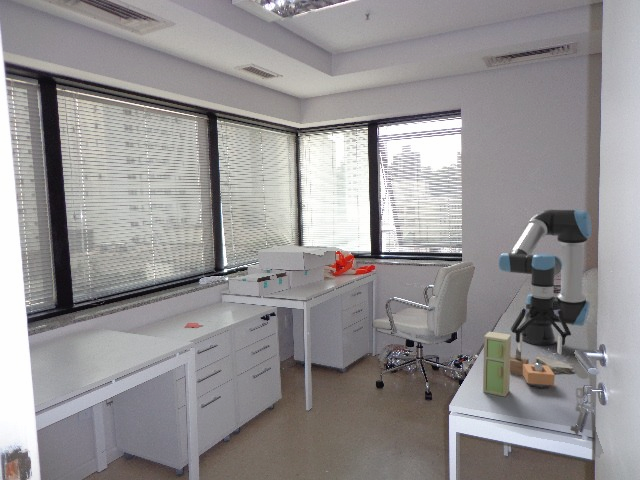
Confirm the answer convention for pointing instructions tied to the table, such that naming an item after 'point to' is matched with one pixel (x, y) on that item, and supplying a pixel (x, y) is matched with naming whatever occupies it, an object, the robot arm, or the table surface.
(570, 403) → the table surface
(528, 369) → the slotted orange block
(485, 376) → the toy refrigerator
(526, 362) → the stand
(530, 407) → the table surface
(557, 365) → the stone
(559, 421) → the table surface
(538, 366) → the hub
